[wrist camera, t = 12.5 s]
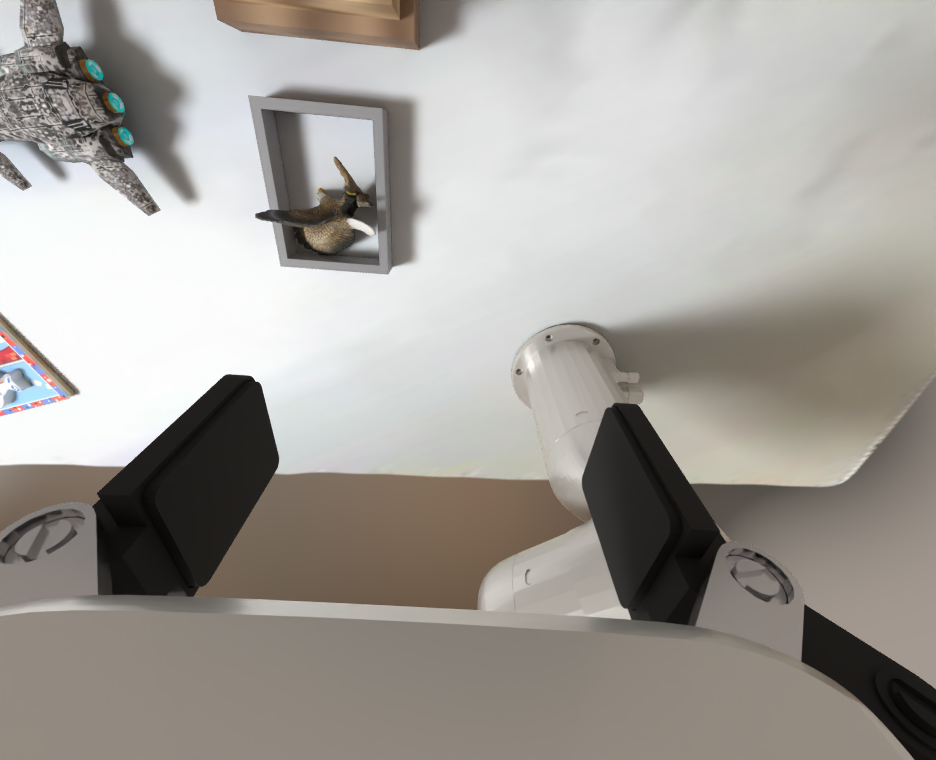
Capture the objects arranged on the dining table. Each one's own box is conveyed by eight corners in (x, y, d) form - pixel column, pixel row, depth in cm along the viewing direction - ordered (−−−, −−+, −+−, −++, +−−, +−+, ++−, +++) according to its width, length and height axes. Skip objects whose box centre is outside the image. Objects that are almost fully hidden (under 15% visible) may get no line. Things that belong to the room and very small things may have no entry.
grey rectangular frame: (387, 110, 32) (382, 108, 30) (392, 267, 40) (388, 274, 38) (262, 98, 32) (248, 95, 30) (290, 259, 39) (280, 266, 37)
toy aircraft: (-160, -4, 29) (-277, -31, 24) (92, -30, 28) (20, -62, 23) (0, 224, 37) (-63, 236, 33) (194, 209, 37) (157, 218, 32)
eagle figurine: (324, 133, 32) (245, 196, 34) (346, 174, 29) (257, 242, 30) (374, 201, 39) (307, 251, 40) (397, 241, 36) (323, 294, 37)
